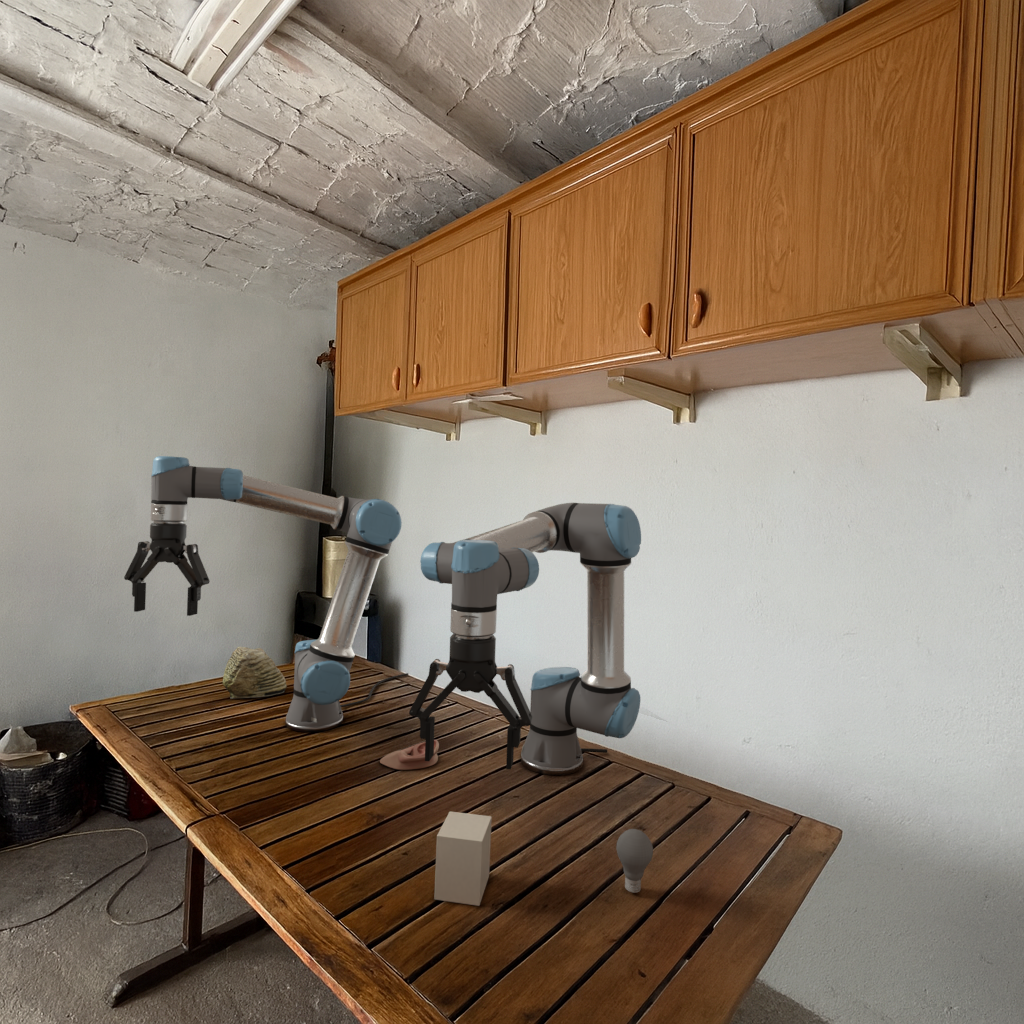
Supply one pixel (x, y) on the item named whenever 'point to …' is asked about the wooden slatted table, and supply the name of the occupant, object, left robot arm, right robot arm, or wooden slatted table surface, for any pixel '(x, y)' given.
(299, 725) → the left robot arm
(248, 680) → the fossil
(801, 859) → the wooden slatted table surface
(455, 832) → the brick
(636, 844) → the light bulb
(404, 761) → the anatomical model
